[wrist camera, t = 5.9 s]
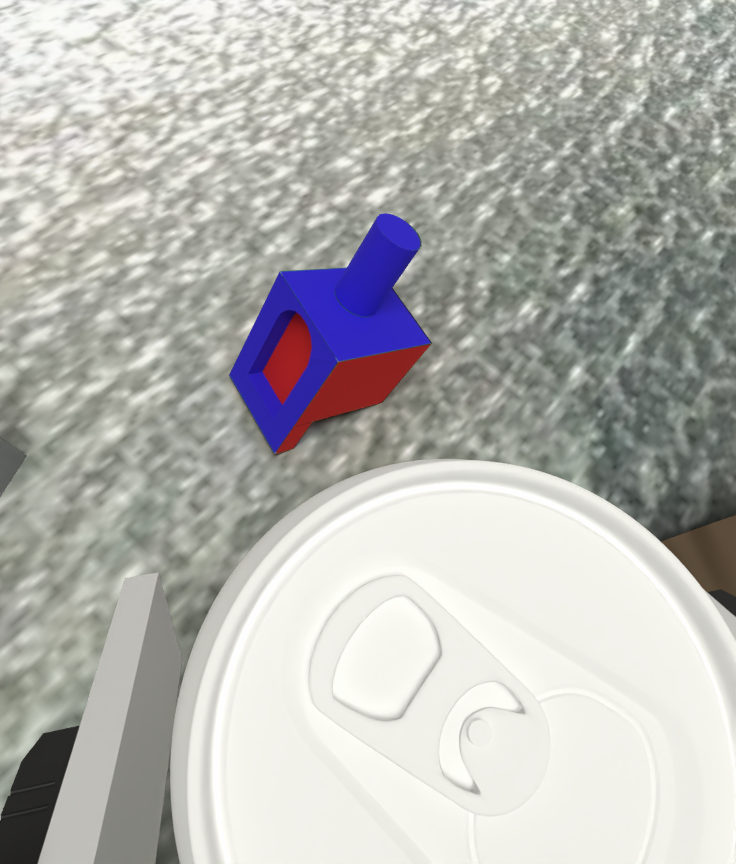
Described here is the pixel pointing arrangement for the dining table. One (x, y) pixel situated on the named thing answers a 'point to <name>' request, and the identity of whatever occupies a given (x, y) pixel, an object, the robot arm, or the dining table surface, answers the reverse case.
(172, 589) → the dining table surface
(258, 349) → the toy building block
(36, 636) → the dining table surface
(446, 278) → the dining table surface
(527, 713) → the beverage can
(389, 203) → the dining table surface
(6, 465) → the grey cube
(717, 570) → the walnut brick
